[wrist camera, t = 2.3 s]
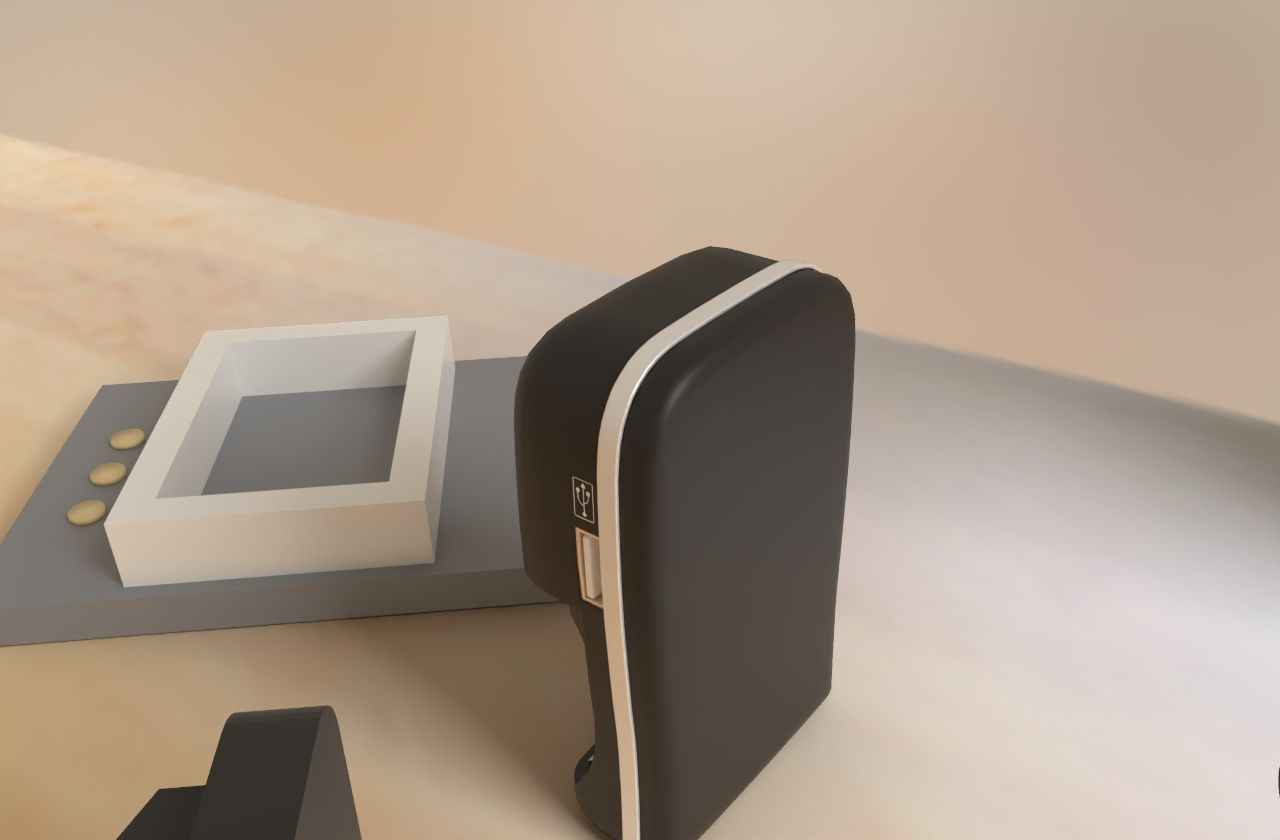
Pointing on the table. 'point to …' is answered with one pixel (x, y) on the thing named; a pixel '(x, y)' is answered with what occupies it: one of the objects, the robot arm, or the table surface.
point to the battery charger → (691, 521)
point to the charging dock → (278, 490)
